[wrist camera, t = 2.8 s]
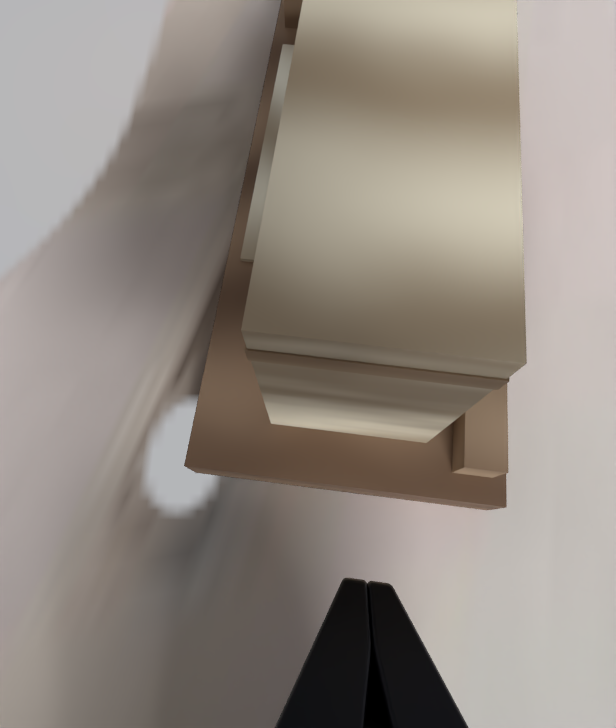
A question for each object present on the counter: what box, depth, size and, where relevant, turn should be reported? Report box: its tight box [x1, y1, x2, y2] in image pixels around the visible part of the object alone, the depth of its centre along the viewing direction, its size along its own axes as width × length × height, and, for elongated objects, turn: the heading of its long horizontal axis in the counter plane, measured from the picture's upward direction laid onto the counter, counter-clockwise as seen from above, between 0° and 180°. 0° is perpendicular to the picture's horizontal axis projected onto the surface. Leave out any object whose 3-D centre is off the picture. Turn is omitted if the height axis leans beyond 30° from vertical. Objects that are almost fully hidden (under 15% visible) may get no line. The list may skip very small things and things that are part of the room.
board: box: [184, 0, 508, 510], centre depth 22 cm, size 26×12×5 cm, turn 173°
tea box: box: [241, 0, 526, 443], centre depth 17 cm, size 13×6×9 cm, turn 173°
